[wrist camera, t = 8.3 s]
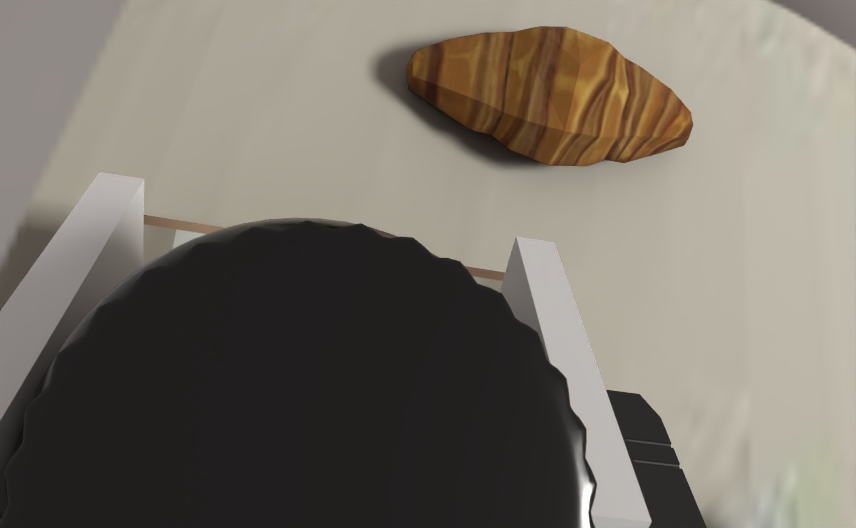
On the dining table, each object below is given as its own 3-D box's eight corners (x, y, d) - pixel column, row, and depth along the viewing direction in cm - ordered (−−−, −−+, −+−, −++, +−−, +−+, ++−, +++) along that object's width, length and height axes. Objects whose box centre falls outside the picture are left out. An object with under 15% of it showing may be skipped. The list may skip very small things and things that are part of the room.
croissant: (389, 151, 35) (406, 105, 31) (413, 17, 37) (432, -46, 32) (670, 209, 37) (727, 176, 32) (681, 80, 39) (737, 29, 34)
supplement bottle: (124, 636, 16) (-272, 1097, 5) (144, 310, 18) (-122, 70, 6) (449, 617, 18) (755, 955, 6) (442, 313, 19) (676, 112, 7)
